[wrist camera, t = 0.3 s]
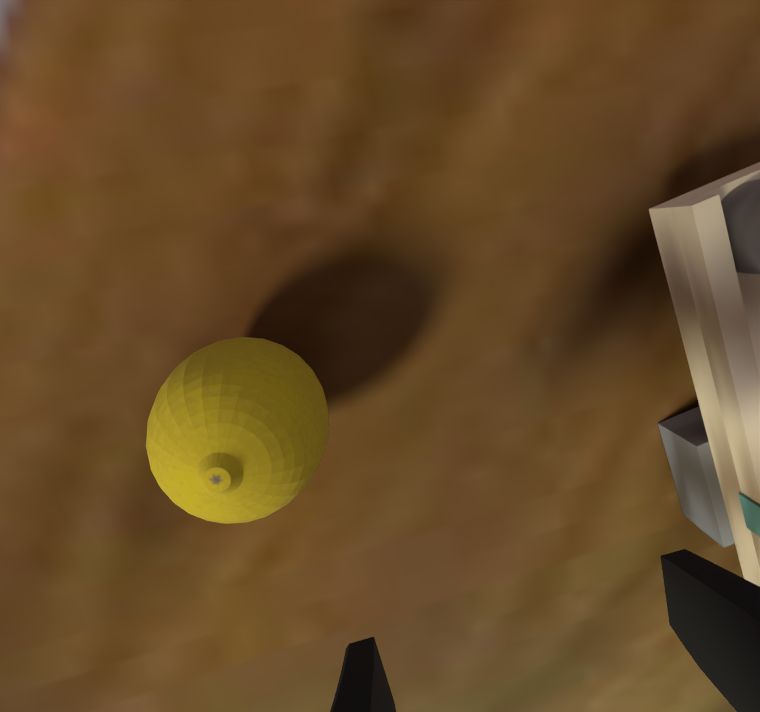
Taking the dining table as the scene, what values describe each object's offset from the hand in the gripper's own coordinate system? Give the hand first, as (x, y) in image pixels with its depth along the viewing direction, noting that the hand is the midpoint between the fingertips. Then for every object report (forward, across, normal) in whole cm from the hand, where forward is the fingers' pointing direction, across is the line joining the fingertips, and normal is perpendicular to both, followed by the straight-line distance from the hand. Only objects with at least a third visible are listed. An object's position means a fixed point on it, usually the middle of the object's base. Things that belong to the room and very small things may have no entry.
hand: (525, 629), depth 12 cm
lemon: (+10, +6, -5) cm, 13 cm away
